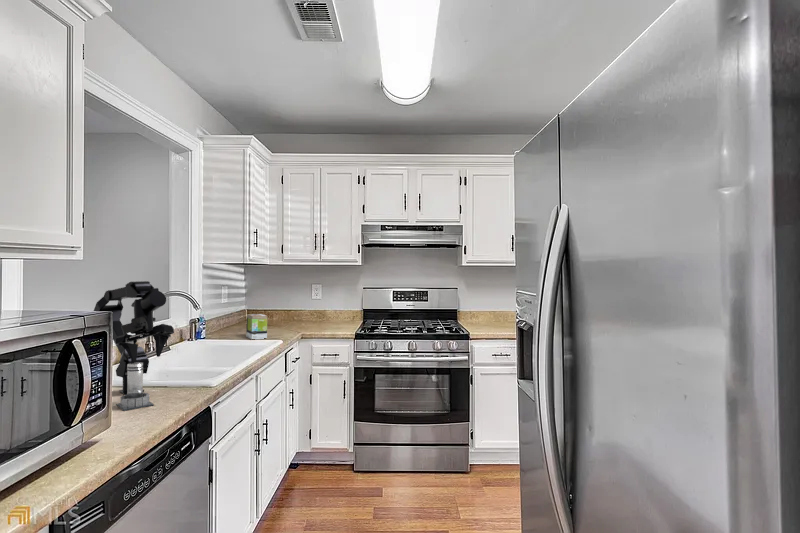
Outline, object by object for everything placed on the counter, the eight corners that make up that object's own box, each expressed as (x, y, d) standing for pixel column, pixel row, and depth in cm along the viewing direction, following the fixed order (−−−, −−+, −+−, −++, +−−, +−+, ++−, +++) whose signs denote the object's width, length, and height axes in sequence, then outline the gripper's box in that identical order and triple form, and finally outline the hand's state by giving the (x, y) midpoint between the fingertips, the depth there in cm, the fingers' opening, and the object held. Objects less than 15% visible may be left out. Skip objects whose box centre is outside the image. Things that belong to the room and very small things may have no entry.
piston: (127, 402, 157) (127, 362, 157) (144, 401, 159) (144, 361, 159) (125, 406, 152) (125, 365, 152) (143, 404, 154) (143, 364, 154)
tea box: (267, 338, 300) (267, 315, 300) (251, 340, 295) (251, 316, 295) (261, 335, 313) (261, 313, 313) (245, 336, 308) (245, 313, 308)
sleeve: (116, 405, 156) (116, 395, 156) (145, 400, 162) (145, 391, 162) (124, 411, 150) (124, 401, 150) (153, 405, 156) (153, 396, 156)
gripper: (101, 318, 161) (103, 364, 156) (151, 304, 158) (154, 350, 154) (126, 323, 171) (128, 367, 167) (173, 310, 169) (176, 354, 164)
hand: (146, 359), depth 162 cm, fingers open, 9 cm apart
